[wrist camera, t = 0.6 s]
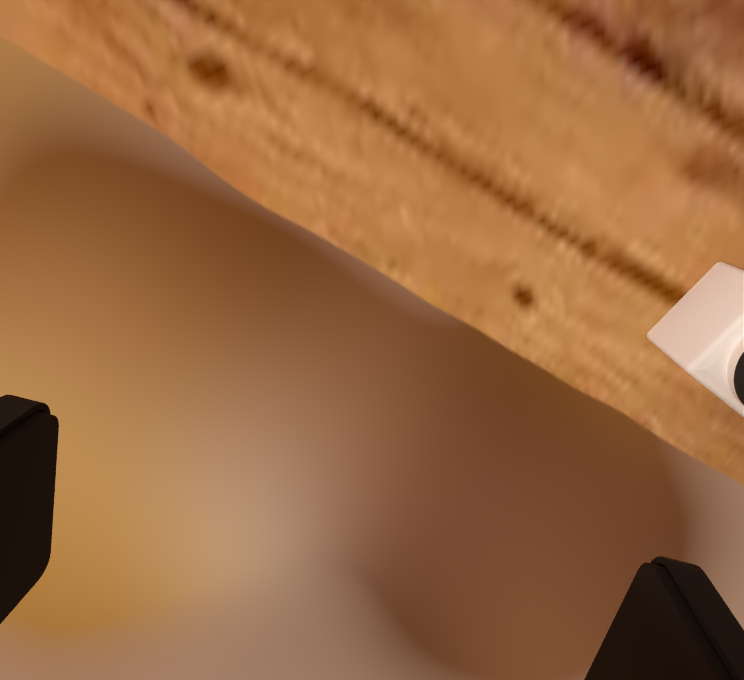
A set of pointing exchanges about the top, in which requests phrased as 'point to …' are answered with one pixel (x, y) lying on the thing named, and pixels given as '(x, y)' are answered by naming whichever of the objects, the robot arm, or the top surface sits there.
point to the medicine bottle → (709, 333)
